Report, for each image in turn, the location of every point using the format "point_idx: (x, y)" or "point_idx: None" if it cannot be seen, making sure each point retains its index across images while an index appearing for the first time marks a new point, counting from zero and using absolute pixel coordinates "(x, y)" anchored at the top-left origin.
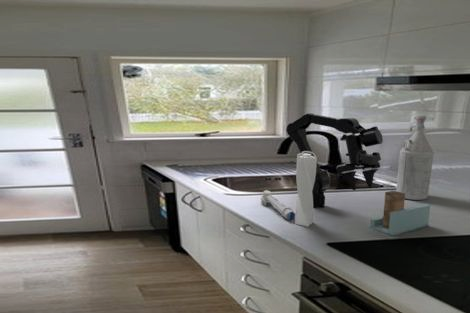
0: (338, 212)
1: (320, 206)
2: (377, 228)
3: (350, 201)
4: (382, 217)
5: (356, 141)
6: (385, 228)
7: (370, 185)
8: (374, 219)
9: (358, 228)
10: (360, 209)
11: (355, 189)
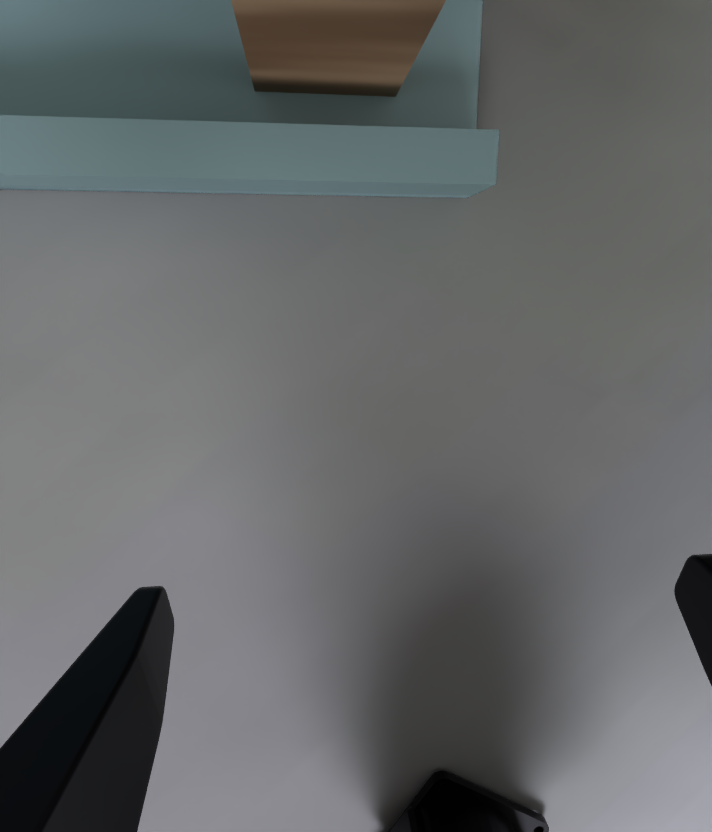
0: (412, 631)
1: (465, 793)
2: (477, 98)
3: None
4: (320, 153)
5: None
6: None
7: (156, 632)
8: (470, 154)
9: (601, 231)
10: None
11: (709, 556)
